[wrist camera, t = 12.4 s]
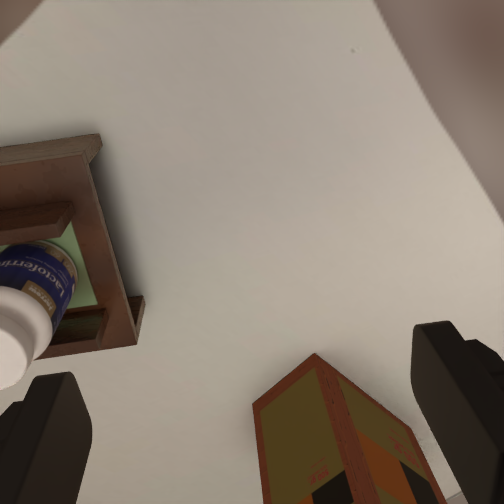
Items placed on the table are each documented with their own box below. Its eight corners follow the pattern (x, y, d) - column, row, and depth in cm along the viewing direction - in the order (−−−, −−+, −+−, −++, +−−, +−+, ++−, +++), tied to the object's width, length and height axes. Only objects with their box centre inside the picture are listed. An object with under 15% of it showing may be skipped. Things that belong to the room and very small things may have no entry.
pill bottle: (89, 254, 35) (50, 338, 26) (66, 314, 37) (21, 410, 28) (8, 223, 34) (-63, 302, 25) (-12, 288, 36) (-84, 381, 27)
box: (252, 403, 51) (275, 614, 34) (314, 352, 49) (375, 551, 31) (351, 471, 58) (415, 678, 40) (411, 428, 55) (507, 630, 38)
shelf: (-56, 155, 37) (-162, 215, 26) (99, 133, 37) (56, 184, 27) (16, 323, 45) (-44, 424, 34) (145, 304, 45) (126, 398, 34)
